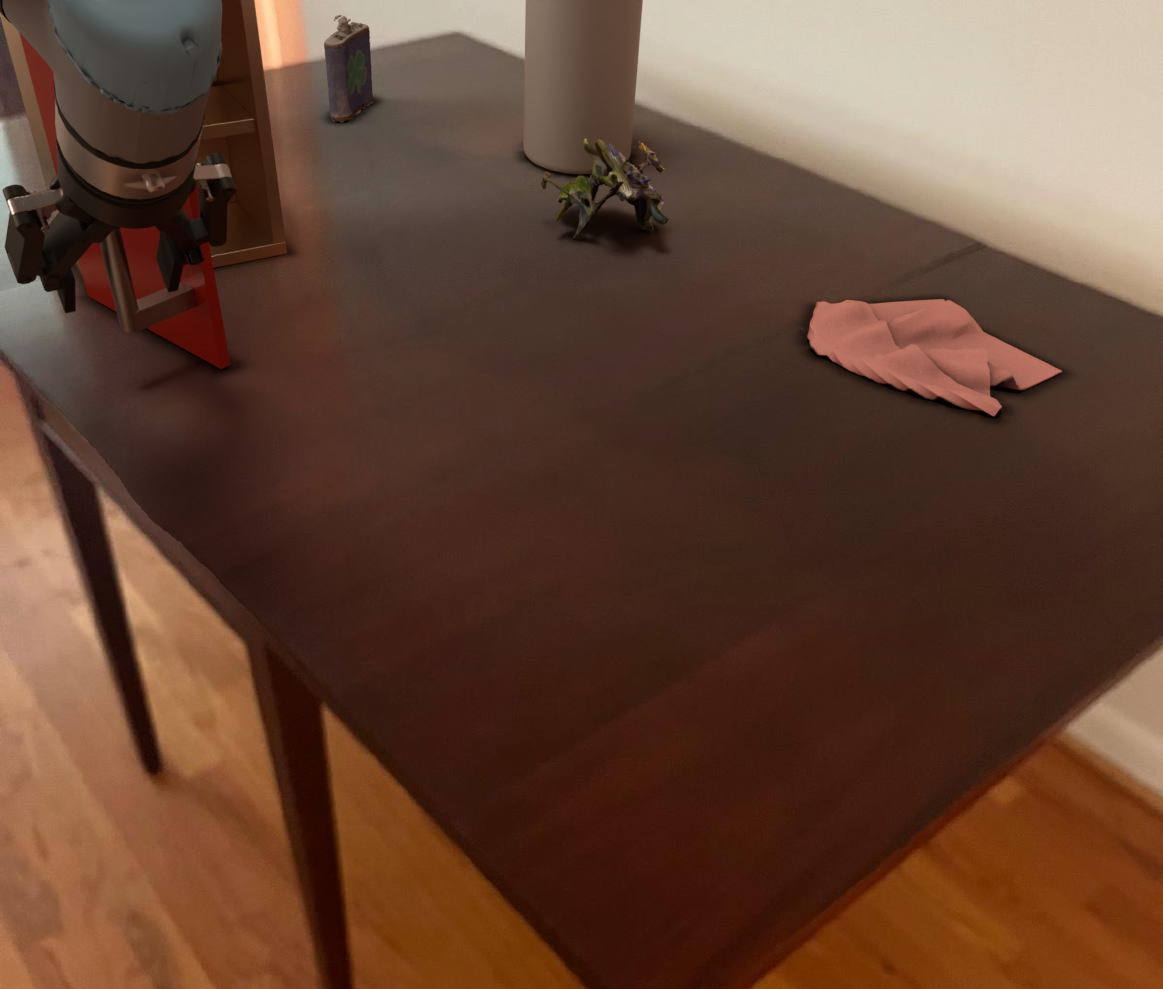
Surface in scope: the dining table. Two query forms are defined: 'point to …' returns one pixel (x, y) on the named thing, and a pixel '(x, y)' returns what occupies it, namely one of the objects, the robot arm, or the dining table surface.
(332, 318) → the dining table surface
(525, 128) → the cylinder vase
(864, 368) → the cloth
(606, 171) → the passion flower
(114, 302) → the valve door
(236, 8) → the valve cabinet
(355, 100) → the flask
